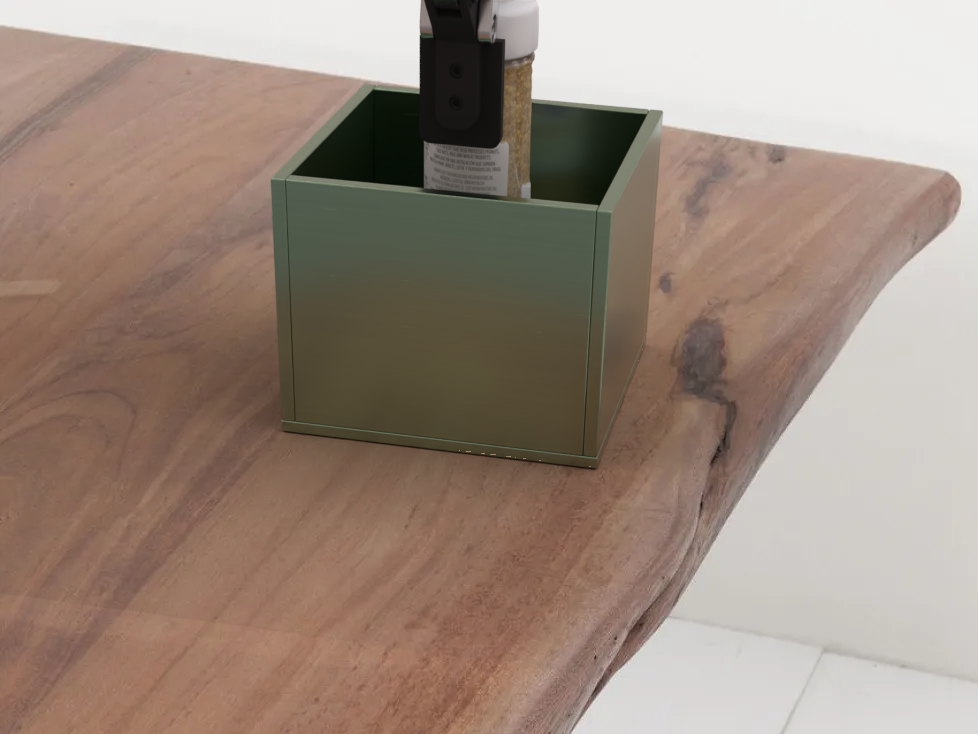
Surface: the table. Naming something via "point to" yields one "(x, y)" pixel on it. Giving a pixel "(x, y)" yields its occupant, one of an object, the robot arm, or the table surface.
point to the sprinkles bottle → (511, 158)
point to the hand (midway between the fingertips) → (476, 118)
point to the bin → (464, 283)
